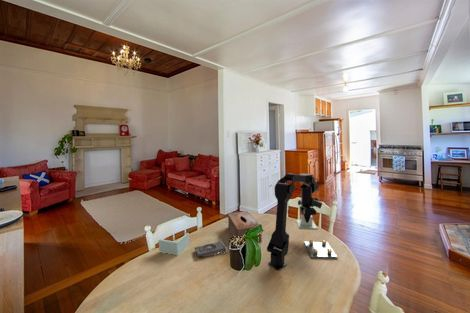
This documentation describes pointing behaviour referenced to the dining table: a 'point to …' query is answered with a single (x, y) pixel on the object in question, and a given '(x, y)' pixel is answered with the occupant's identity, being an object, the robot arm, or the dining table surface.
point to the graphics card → (211, 249)
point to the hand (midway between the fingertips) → (306, 221)
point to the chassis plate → (320, 250)
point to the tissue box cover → (242, 223)
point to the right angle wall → (174, 245)
